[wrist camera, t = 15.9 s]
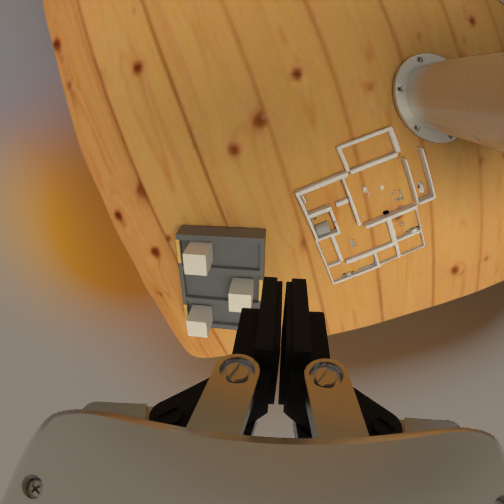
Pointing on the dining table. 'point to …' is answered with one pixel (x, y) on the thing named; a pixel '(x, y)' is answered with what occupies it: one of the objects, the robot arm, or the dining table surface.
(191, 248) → the white rectangular block
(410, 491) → the robot arm
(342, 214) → the dining table surface
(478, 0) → the dining table surface
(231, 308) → the white block
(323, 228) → the floor plan model
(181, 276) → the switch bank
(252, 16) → the dining table surface
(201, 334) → the tab
